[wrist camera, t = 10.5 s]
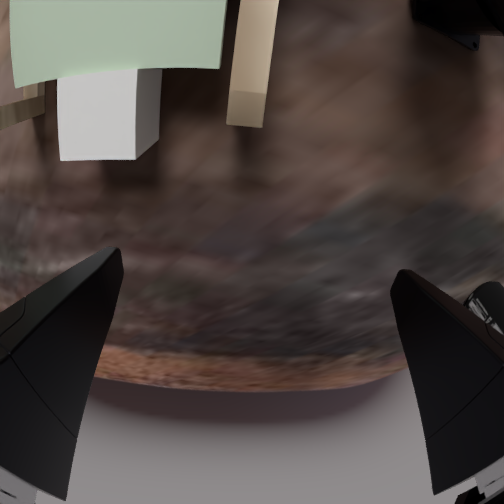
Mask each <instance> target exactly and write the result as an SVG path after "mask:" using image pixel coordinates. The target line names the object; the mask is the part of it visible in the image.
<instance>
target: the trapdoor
mask: <svg viewBox="0 0 504 504" xmlns="http://www.w3.org/2000/svg"><path fill="white" fill-rule="evenodd" d="M227 3H228V0H10V42H11V56H12V66H13V75H14V83H15V88H19V87H22V86H26V85H31V84H35V83H39V82H44V81H49V80H54V79H58V78H63V77H69V76H75V75H82V74H89V73H96V72H105V71H115V70H127V69H145V68H212V69H219V68H220V66H221V59H222V49H223V39H224V29H225V20H226V12H227Z"/></svg>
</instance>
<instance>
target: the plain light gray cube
mask: <svg viewBox="0 0 504 504" xmlns="http://www.w3.org/2000/svg"><path fill="white" fill-rule="evenodd" d="M161 81H162V69H127V70H115V71H105V72H96V73H89V74H82V75H75V76H69V77H63V78H58V79H57V115H58V136H59V149H60V160H61V161H71V160H136V159H137V158H138V157H139V156H140V155H142V154H143V153H144V152H145V151H146V150H147V149H148V148H150V147H151V146H152V145H153V144H154V143H155V142H157V141H158V140H159V119H160V97H161Z"/></svg>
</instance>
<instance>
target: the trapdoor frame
mask: <svg viewBox="0 0 504 504" xmlns="http://www.w3.org/2000/svg"><path fill="white" fill-rule="evenodd" d="M278 3H279V0H241V2H240V9H239V16H238V24H237V31H236V39H235V47H234V55H233V64H232V72H231V81H230V90H229V100H228V110H227V120H226V125H238V126H249V127H259V128H262V124H263V116H264V108H265V101H266V93H267V85H268V78H269V70H270V62H271V55H272V47H273V40H274V32H275V25H276V17H277V10H278ZM44 113H45V81H44V82H39V83H35V84H31V85H26V86H24V100H20V101H16V102H13V103H10V104H6V105H3V106H0V130H2V129H4V128H6V127H9V126H11V125H14V124H16V123H19V122H22V121H24V120H27V119H30V118H33V117H35V116H38V115H41V114H44Z"/></svg>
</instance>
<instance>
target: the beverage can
mask: <svg viewBox="0 0 504 504" xmlns="http://www.w3.org/2000/svg"><path fill="white" fill-rule="evenodd" d="M465 307H466V308H467V309H469V310H470V311H472V312H473V313H474V314H476V315H477V316H478V317H480V318H481V319H482V320H484V322H487V323H488V324H489V325H491V326H492V327H493V328H495V329H496V330H497V331H499V332H500V333H501V334H503V335H504V287H503V286H502V285H501V284H500V283H499V282H486V283H484V284H482V285H481V286H479V287H478V288H477V289H476V290H475V291H474V292H473V293H472V294H471V296H470V297H469V299H468V300H467V302H466V305H465Z"/></svg>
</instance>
